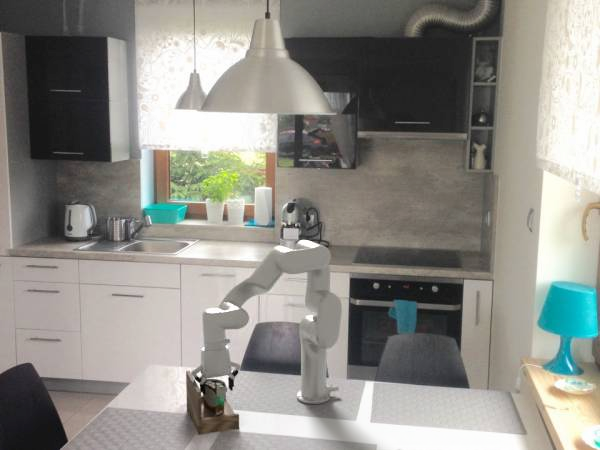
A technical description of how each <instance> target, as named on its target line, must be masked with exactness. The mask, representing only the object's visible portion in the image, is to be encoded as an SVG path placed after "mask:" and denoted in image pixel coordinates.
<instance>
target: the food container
mask: <svg viewBox="0 0 600 450" xmlns="http://www.w3.org/2000/svg"><path fill="white" fill-rule="evenodd" d="M204 383H205V393H206V394H205V395H203V394H202V395H203V402H204V408H205V409H206V410H207V411H209V412H210V413H211V414H212V415H214V416H215V417H216V416H220V415H222V414H223V413H224V403H225V393H226V394H227V392H228V388H227V384H226V382H225V381H223V380H221V379H218V378H207V379H206V380H205V382H204Z"/></svg>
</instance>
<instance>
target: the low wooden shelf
mask: <svg viewBox="0 0 600 450" xmlns="http://www.w3.org/2000/svg"><path fill="white" fill-rule="evenodd" d="M191 372H192V371H190V370H186V371H185V379H186V380H185V382H186V412H187V414H188V416H189V417H190V421H191V422H192V424H193V427H194V429H195V430H196V433H197V435H198V436H199V435H207V434H212V433H219V432H225V431H232V430H239V429H240V414H239V412H238V413H235V411H234V410H233V408H232V406H231V405H230V403H229V401H228V400H227V396H226V395H227V392H226V393H225V403H224V413H223V414H222V415H220V416H216V417H215V416H214V415H212V414H211V413H210V412H209V411H207V410H206V409H205V408H204V402H203V394H202V392H201V390H200V386H199V385H198V382H197V381H196V380H195V378H194V377H193V375H192V374H191Z"/></svg>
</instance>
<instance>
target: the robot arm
mask: <svg viewBox="0 0 600 450" xmlns="http://www.w3.org/2000/svg"><path fill="white" fill-rule="evenodd" d="M331 259H332V258H331V251H330V250H329V248H328V247H326V246H325V245H322V244H320V243H317V242H315V241H312V240H308V239H301V240H299V241H298V242H297V243H296V244H295V246H294V249H292V248H289V247H286V246H284V245H277V246H274V247H273V248H272V249H271V250H270V251H269V253H268V254H267V255H266V256H265V257H264V259H263V260H262V261H261V262H260V264H259V265H258V266H257V267H256V269H254V271H253V272H252V273H251V275H249V277H247V278H245V279H244V280H242V281H241V282H240V283H238V284H237V285H235V286H234V287H233V288H232V289H230V290H229V292H228V293H227V294H226V295H225V297H224V298H223V299H222V301H221V302H220V303H219V305H218V307H211V308H207V309H205V310H204V311H203V312H202V335H203V347H202V348H201V352H200V365H199V366H197V367H196V368H195V369H194V370H192V371H190V372H191V374H192V376H193V378H194V380H195V381H196V383H199V389H200V390H201V394H202V395H205V394H206V393H205V383H204V382H205V380H206V379H215V378H219V377H224V376H228V377H227V381H228V388H229V390H230V391H233V390H234V389H233V388H234V387H235V383H234V382H235V378H236V377H237V375H238V374H239V372H240V370H241V368H242V365H241V364H239V363H237V362H235V361H231V355H230V351H229V346H228V344H230V343H231V340H230V338H226V330H241V329H242V328H245V327H246V326H247V325H248V324H249V321H250V315H249V313H248V311H247V310H245V309H244V308H242V306H244V304H245V303H246V302H247V301H248V300H250V299H251V298H254V297H256V296H259V295H264V294H267V293H268V292H270V291H271V290H272V289H273V287H274V286H275V284H277V282H278V281H279V280H280V278H281V277H282V276H283V274H287V275H300V274H304V273H306V286H305V288H306V289H305V297H304V303H305V307H306V309H307V310H308V311H310V312H311V313H313V314H308V315H305V316H304V317H303V318H302V319H301V320H300V322H299V326H298V333H299V339H300V390H299V391H298V392H296V399H297V400H298V401H299V402H302V403H304V404H308V405H309V404H310V405H318V404H323V403H326V402H328V401H330V399H331V392H338V391H339V386H338V385H333V384H327V367H328V366H327V364H328V363H327V358H328V354H327V353H328V351H327V350H328V349H332V348H333V347H334V346H335V345H336V344H337V343H338V340H339V337H340V332H341V331H340V330H341V321H342V312H343V305H342V302H341V299H340V297H339V296H338V295H337V294H336V293H334V292H332V291H331V289H330V288H331V269H330V265H329V264H330V262H331ZM232 367H234V368H235V369H233V371H232ZM199 373H200V374H201V375H200V376H199V375H197V374H199Z"/></svg>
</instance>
